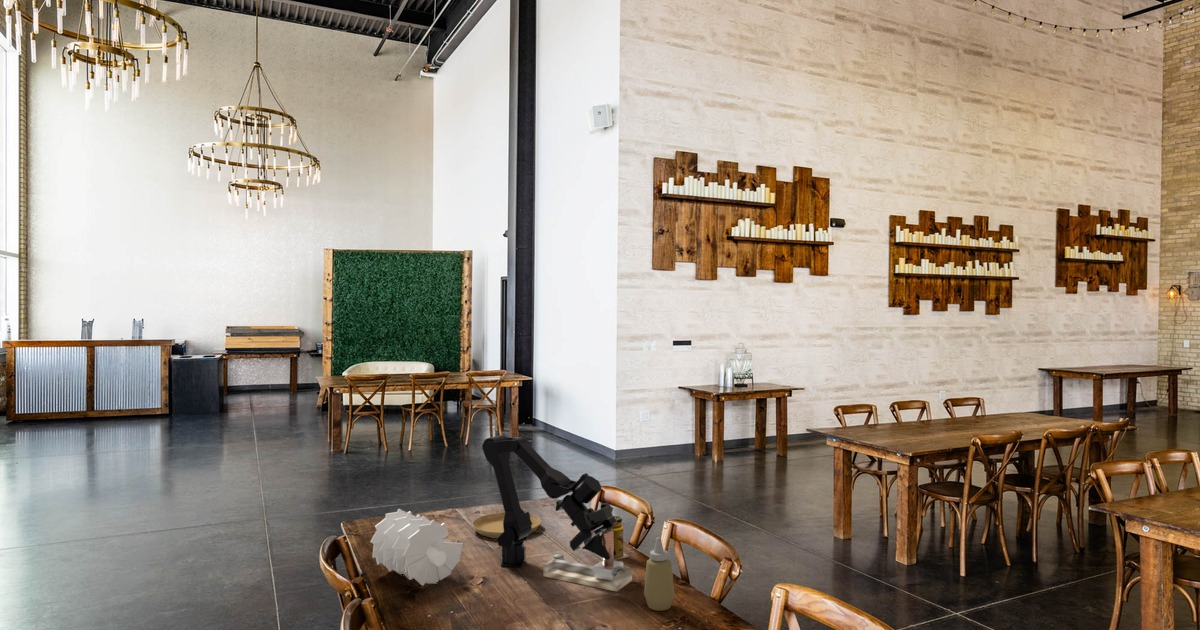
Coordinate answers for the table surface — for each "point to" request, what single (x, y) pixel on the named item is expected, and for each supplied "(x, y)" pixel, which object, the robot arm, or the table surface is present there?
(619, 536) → the condiment
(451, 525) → the table surface
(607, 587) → the rail
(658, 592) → the squeeze bottle
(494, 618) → the table surface
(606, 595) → the table surface
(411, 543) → the spiral staircase
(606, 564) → the carriage
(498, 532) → the plant saucer
